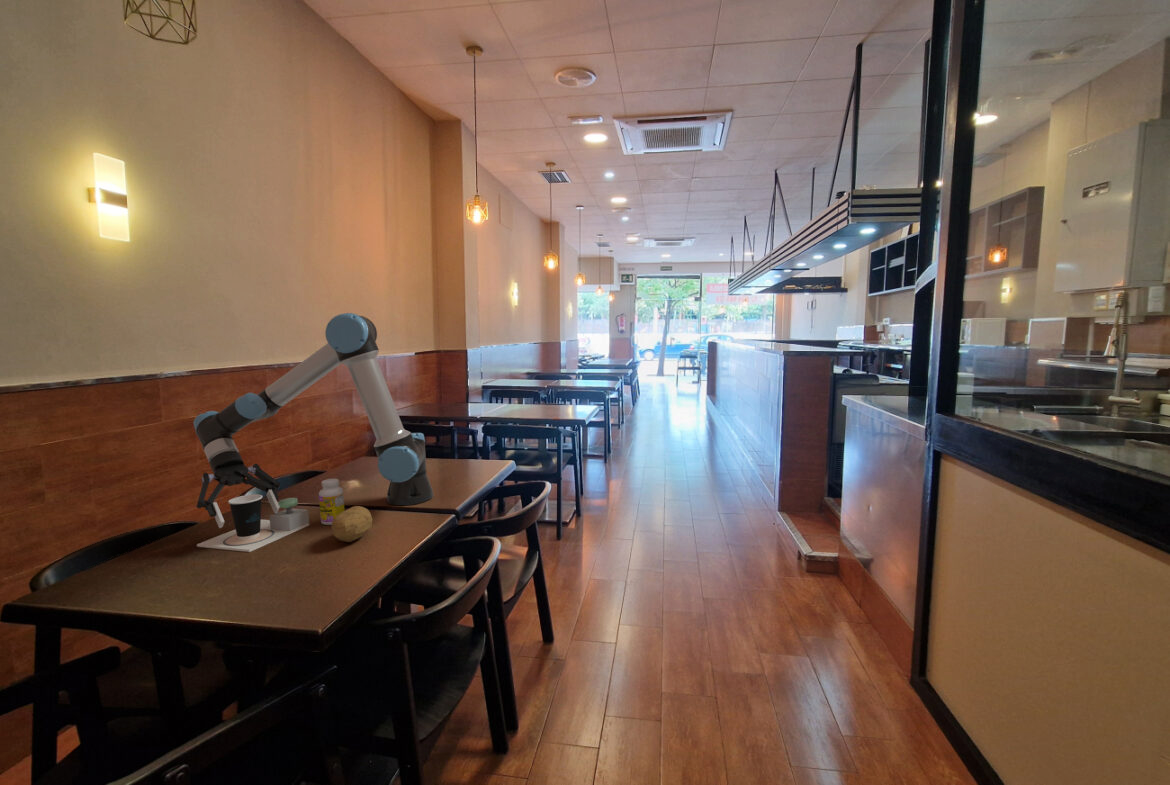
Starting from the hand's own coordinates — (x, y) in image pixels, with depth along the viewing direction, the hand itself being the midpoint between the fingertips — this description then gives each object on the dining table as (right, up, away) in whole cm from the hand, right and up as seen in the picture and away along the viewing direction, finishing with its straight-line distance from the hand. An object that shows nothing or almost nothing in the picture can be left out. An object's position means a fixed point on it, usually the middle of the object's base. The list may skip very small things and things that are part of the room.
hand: (250, 517), depth 139 cm
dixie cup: (-2, -6, +2) cm, 7 cm away
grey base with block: (-2, -6, +5) cm, 8 cm away
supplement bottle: (+15, -5, +15) cm, 22 cm away
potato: (+28, -6, 0) cm, 29 cm away
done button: (+5, -3, +10) cm, 12 cm away
